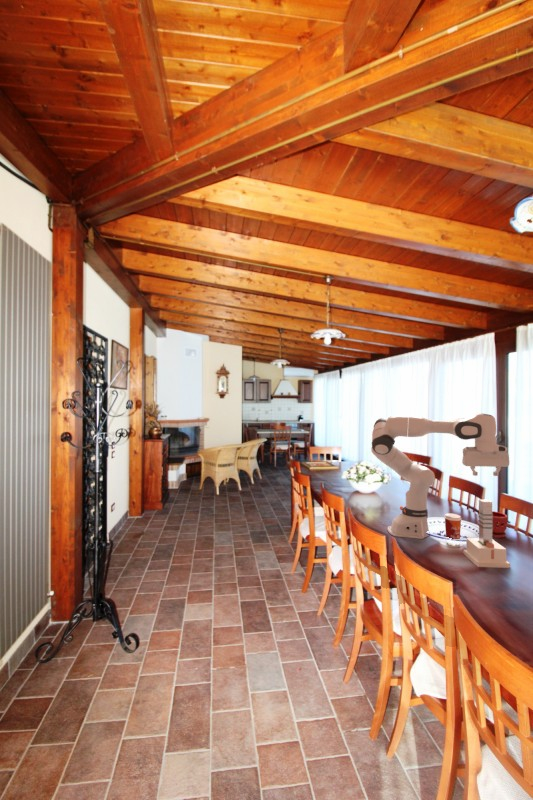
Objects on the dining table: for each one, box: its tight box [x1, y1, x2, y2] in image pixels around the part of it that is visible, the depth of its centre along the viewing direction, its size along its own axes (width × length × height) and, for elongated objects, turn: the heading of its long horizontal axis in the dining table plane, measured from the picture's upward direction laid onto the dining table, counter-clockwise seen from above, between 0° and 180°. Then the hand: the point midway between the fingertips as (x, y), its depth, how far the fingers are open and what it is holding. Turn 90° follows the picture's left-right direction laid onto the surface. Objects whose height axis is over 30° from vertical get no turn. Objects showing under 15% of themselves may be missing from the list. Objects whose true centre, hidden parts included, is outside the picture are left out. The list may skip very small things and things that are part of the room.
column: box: [478, 499, 493, 546], centre depth 171 cm, size 4×4×22 cm
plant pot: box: [492, 510, 509, 539], centre depth 203 cm, size 13×13×12 cm
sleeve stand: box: [462, 537, 511, 569], centre depth 171 cm, size 14×14×10 cm
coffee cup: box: [443, 513, 462, 540], centre depth 191 cm, size 8×8×15 cm
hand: (485, 475), depth 175 cm, fingers open, 8 cm apart
